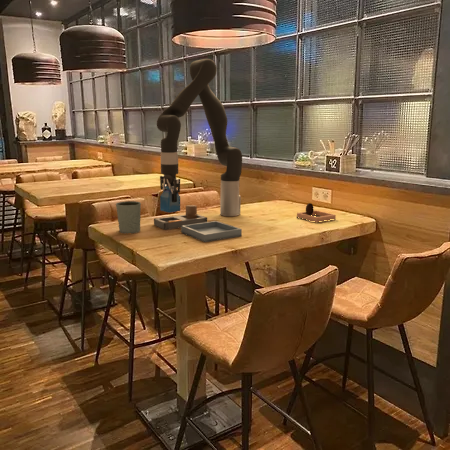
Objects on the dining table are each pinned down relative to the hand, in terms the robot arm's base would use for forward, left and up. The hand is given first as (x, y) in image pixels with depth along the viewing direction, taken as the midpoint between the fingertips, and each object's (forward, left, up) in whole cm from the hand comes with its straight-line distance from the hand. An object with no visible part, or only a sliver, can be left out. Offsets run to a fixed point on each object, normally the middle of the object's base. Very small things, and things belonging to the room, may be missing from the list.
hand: (170, 200), depth 202 cm
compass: (-68, +23, -12) cm, 73 cm away
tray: (-7, +22, -11) cm, 26 cm away
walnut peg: (-11, 0, -11) cm, 16 cm away
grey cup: (+19, -1, -12) cm, 22 cm away
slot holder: (-5, 0, -11) cm, 13 cm away
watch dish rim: (-67, +24, -11) cm, 72 cm away
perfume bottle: (0, 0, -5) cm, 5 cm away
